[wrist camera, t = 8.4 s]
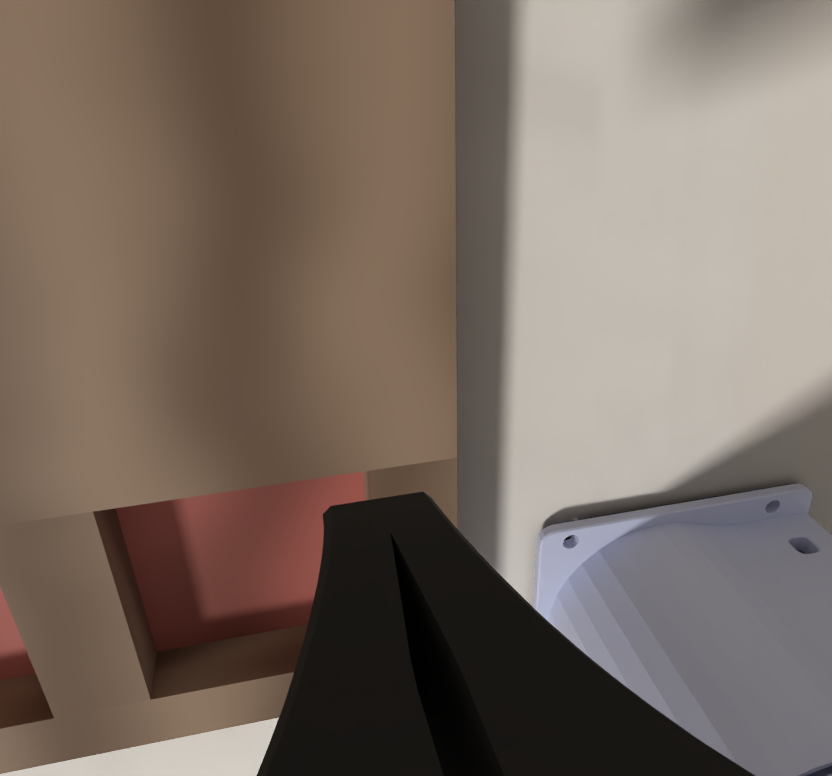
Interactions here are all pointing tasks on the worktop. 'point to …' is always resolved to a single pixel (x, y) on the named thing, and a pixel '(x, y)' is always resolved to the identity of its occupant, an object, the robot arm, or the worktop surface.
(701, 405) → the worktop surface
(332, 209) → the trap deck
